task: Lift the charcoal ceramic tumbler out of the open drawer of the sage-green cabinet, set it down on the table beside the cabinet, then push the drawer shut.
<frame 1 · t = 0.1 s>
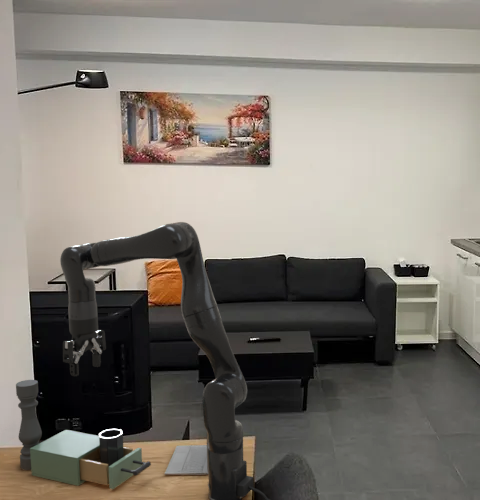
hand: (86, 371, 185), 29 cm above the table, tool pointing down, fingers open, 8 cm apart
cabinet: (72, 469, 188), on the table
candle holder: (32, 465, 190), on the table
laptop: (192, 461, 194), on the table
tumbler: (112, 468, 184), point 2 cm above the table, touching drawer
drawer: (113, 465, 182), point 4 cm above the table, slide at 10.0 cm, touching tumbler
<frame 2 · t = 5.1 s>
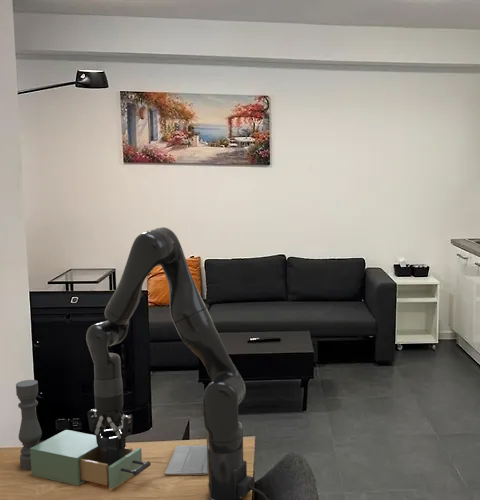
hand: (111, 447, 184), 8 cm above the table, tool pointing down, fingers closed on tumbler, 6 cm apart
tumbler: (112, 468, 184), point 2 cm above the table, touching drawer, gripper
everything else where it was.
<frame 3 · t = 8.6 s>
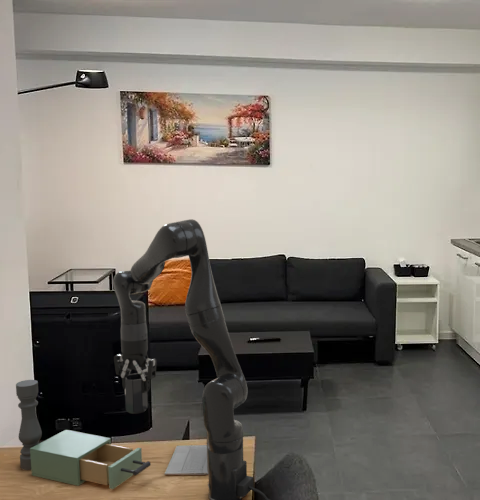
hand: (136, 390, 195), 20 cm above the table, tool pointing down, fingers closed on tumbler, 6 cm apart
tumbler: (136, 410, 196), point 14 cm above the table, touching gripper
drawer: (112, 465, 182), point 4 cm above the table, slide at 10.0 cm
everything else where it was.
when the fingers open (6 cm above the table, at t = 12.3 s): tumbler stays where it is, on the table.
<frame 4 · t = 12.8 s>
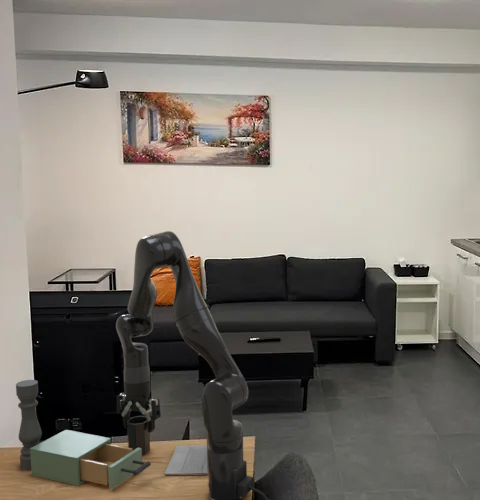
hand: (139, 429, 198), 7 cm above the table, tool pointing down, fingers open, 8 cm apart
tumbler: (139, 452, 199), on the table
everything else where it was.
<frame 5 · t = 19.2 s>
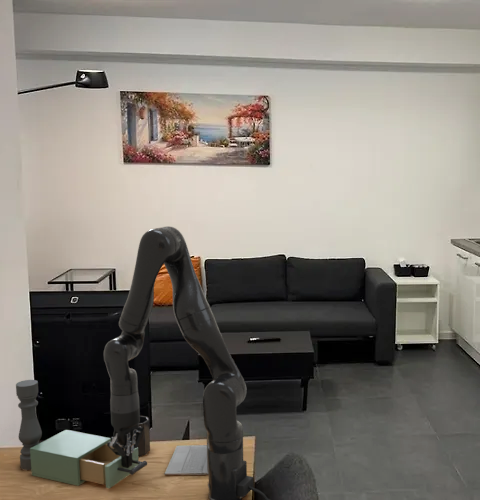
hand: (127, 466, 180), 5 cm above the table, tool pointing down, fingers closed
drawer: (109, 464, 183), point 4 cm above the table, slide at 8.8 cm
everything else where it was.
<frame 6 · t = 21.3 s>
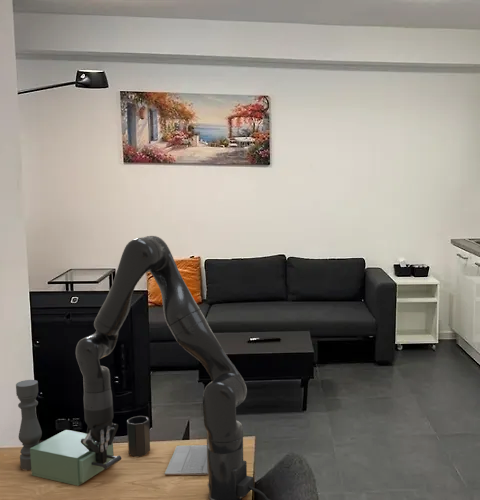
hand: (101, 462, 184), 4 cm above the table, tool pointing down, fingers closed
drawer: (84, 459, 186), point 4 cm above the table, slide at 0.0 cm, touching cabinet, gripper
everything else where it was.
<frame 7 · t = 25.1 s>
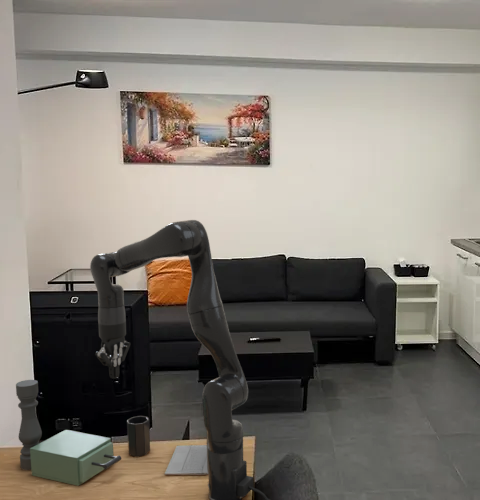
hand: (114, 377, 192), 25 cm above the table, tool pointing down, fingers closed
drawer: (84, 459, 186), point 4 cm above the table, slide at 0.0 cm, touching cabinet
everything else where it was.
at the end: tumbler inside the target area (0.2 cm from its centre), on the table; tumbler tilted 0°; drawer slide at 0.0 cm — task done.
